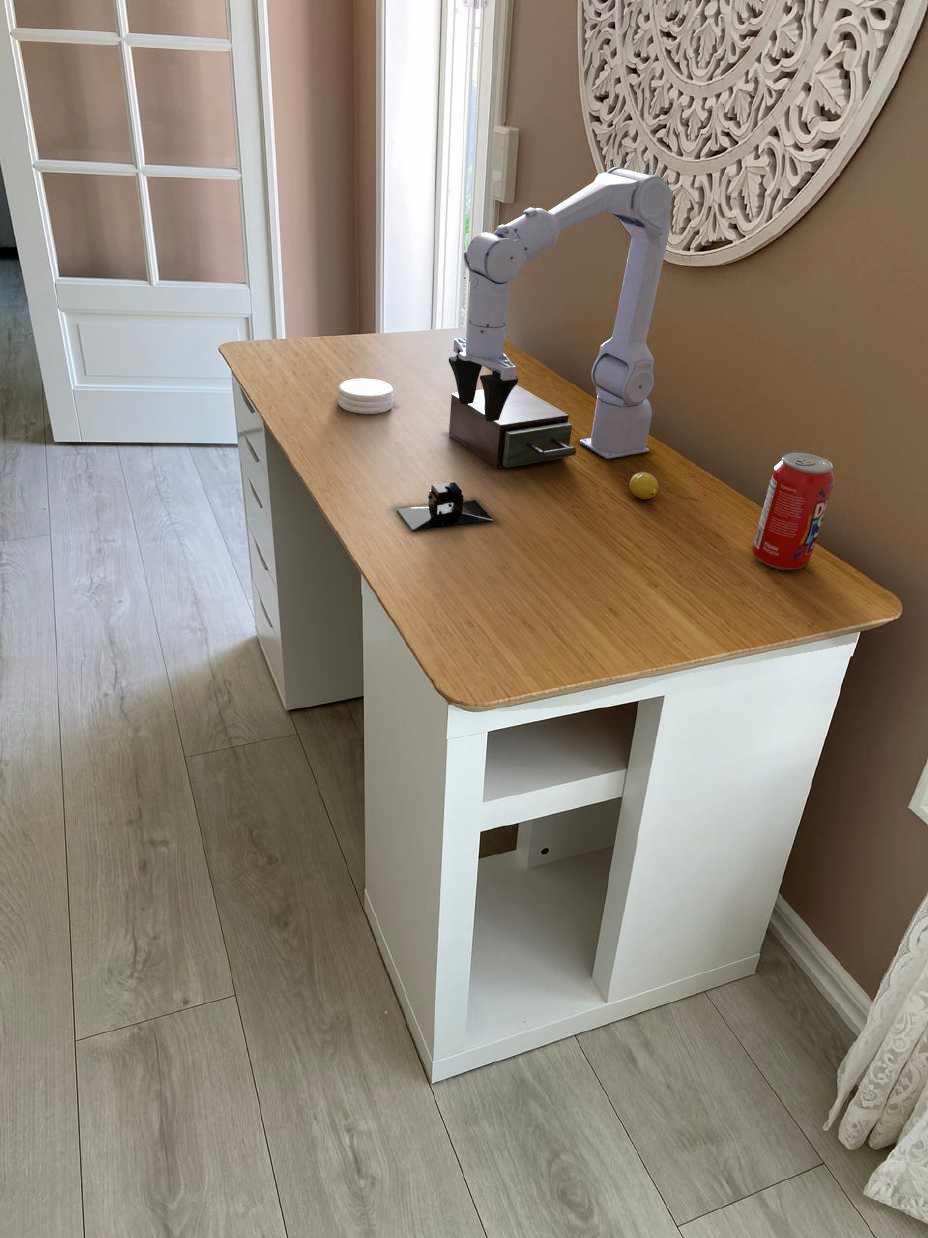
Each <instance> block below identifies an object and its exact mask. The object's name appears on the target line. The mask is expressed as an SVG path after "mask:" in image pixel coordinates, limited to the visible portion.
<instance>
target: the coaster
mask: <svg viewBox="0 0 928 1238" xmlns="http://www.w3.org/2000/svg"><path fill="white" fill-rule="evenodd" d="M337 391H338V393H337V398H338V399H337V403H338V405H339V407H340V408H341V409H343V410H344V411H347V412H350V413H353V414H360V415H376V414H377V415H378V414H383V413H386V412H388V411H389V410H391V409H392V408H393V405H394V401H393V400H394V387H392V385H390V384H389V383H387V382H385V381H382V380H378V379H373V378H353V379H348V380H344V381H343V382H341V383H340V384H338V387H337Z"/></svg>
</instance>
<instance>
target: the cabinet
mask: <svg viewBox="0 0 928 1238" xmlns="http://www.w3.org/2000/svg"><path fill="white" fill-rule="evenodd" d="M450 396H451V399H450V409H449V410H450V411H449V426H448V427H449V428H448V435H449V436H450V437H451V438H452V439H454V440H455V441H457V442H458V443H460V444H461V445H462V446H464V447H465V448H466V449H468V450H469V451H471V452H472V453H473V454H475V455H476V456H478V457H479V458H481V459H482V460H484V462H486V463H488V465H490V466H492V467H493V468H495V469H501V468H506V467H505V466H503V460H501V459H500V458H501V449H502V439H503V429H505V428H512V427H518V426H525V425H532V424H538V423H545V422H552V421H558V420H560V421H561V422H560V423H567V422H568V423H569V416H570V415H569V414H568V413H566V412H564V411H563V410H560V409H559V408H558V407H556V406H554V405H552V404H550V403H549V402H547V401H545V400H543V399H542V398H541V397H538V396H537V395H535V394H534V393H532V392H530V391H528V390H526V389H525V388H523V387H521V386H519V385H517V384H516V385H515V387H514V388H513V389H512V391H511V392H510V394H509V396H508V398H507V400H506V402H505V405H504V407H503V410H502V413H501V416H500V418H499V420H497V421H490V422H488V421H486V420H485V398H484V391H483V389H476V394H475V398H474V402H473V403H471V404H464V405H462V404H460V401H459V396H458V392H452V393H451V395H450Z"/></svg>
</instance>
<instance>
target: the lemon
mask: <svg viewBox="0 0 928 1238" xmlns="http://www.w3.org/2000/svg"><path fill="white" fill-rule="evenodd" d="M629 490H630V492H631V493H632V495H633V496H635V497H636V498H638V499H640V500H644V501H645V500H650V499H652V498H654V497H655V496H656V495H657V493H658V491H659V482H658V480H657V478H656V477H655V476H654V475H653V474H651V473H649V472H646V471H640V472H637V473H635V474H634V475H633V476H632V477H631V479H630V481H629Z"/></svg>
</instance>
